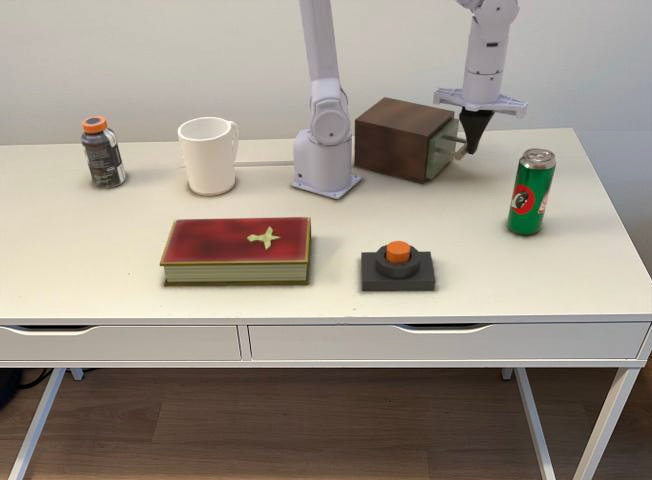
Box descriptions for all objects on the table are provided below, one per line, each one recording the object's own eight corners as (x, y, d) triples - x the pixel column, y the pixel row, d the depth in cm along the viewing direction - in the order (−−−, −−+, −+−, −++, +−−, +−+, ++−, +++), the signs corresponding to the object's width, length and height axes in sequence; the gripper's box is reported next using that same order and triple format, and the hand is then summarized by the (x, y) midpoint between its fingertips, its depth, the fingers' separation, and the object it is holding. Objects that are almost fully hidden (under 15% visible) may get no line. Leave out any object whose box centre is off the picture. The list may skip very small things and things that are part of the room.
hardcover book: (179, 239, 104) (174, 216, 102) (311, 237, 103) (310, 213, 100) (164, 286, 96) (159, 262, 93) (308, 284, 94) (307, 260, 91)
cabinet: (449, 158, 119) (454, 111, 113) (423, 184, 113) (427, 136, 107) (382, 142, 125) (384, 96, 119) (354, 165, 118) (354, 119, 113)
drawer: (477, 161, 115) (482, 124, 111) (454, 185, 110) (459, 147, 105) (392, 141, 123) (394, 105, 118) (366, 162, 117) (368, 125, 112)
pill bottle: (133, 177, 120) (118, 116, 112) (110, 191, 117) (93, 130, 109) (109, 170, 123) (93, 110, 115) (86, 184, 119) (68, 123, 111)
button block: (361, 290, 92) (362, 270, 90) (361, 261, 97) (361, 241, 95) (434, 290, 92) (436, 269, 89) (429, 260, 97) (431, 240, 94)
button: (386, 264, 91) (387, 253, 90) (385, 251, 94) (386, 240, 92) (410, 264, 91) (411, 253, 90) (408, 250, 93) (409, 240, 92)
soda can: (541, 237, 99) (559, 164, 91) (506, 235, 100) (521, 162, 92) (539, 219, 103) (556, 147, 94) (505, 217, 104) (519, 145, 95)
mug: (205, 203, 112) (196, 146, 105) (178, 184, 117) (167, 128, 110) (257, 180, 117) (251, 124, 110) (228, 163, 122) (221, 108, 115)
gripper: (429, 70, 101) (421, 153, 110) (524, 84, 95) (507, 171, 104) (446, 54, 105) (437, 136, 114) (538, 67, 99) (521, 152, 108)
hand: (472, 151), depth 110 cm, fingers closed, pressing on drawer
